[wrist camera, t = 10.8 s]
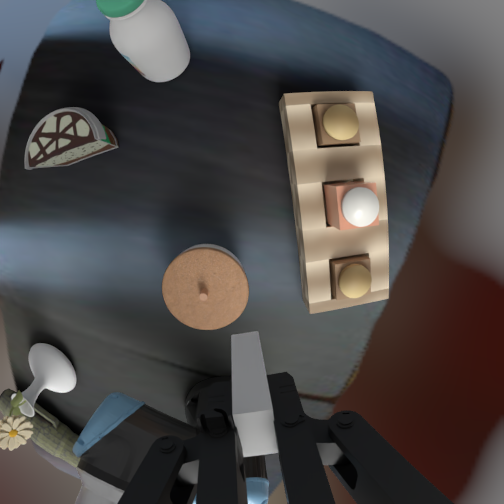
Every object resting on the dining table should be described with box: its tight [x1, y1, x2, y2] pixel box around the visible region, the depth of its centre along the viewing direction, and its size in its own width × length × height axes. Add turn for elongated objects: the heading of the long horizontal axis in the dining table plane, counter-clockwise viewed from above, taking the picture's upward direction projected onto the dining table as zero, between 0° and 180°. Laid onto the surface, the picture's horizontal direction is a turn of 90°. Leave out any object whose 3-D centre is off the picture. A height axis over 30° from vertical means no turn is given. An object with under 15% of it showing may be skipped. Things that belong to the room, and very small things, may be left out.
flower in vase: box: [0, 343, 76, 450], centre depth 35 cm, size 13×11×25 cm
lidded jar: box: [162, 244, 249, 330], centre depth 40 cm, size 11×11×9 cm
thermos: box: [0, 389, 81, 468], centre depth 48 cm, size 9×12×35 cm
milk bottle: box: [96, 0, 190, 82], centre depth 26 cm, size 8×8×20 cm
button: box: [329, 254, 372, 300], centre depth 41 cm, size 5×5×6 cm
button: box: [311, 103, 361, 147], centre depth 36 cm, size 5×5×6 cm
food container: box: [25, 107, 119, 170], centre depth 33 cm, size 12×6×10 cm, turn 101°
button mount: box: [279, 91, 389, 314], centre depth 40 cm, size 29×12×5 cm, turn 8°
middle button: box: [324, 181, 379, 230], centre depth 35 cm, size 5×5×6 cm
